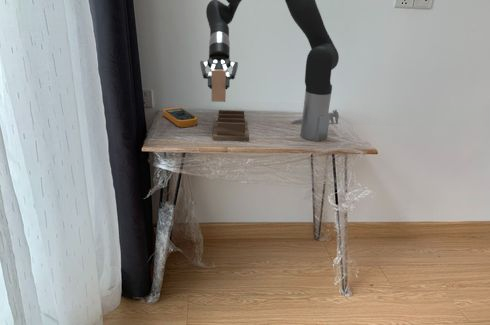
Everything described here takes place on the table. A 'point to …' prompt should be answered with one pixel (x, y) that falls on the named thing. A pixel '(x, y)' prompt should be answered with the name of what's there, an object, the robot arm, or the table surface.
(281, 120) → the table surface
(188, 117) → the multimeter
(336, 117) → the caliper
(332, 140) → the table surface
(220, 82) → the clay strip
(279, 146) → the table surface
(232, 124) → the ridged wooden board
